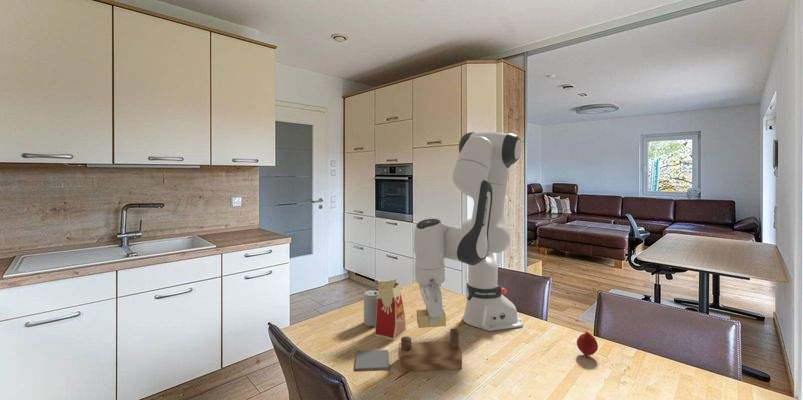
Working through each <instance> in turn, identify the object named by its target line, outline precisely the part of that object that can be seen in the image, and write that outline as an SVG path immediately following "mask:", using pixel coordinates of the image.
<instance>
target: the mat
mask: <svg viewBox="0 0 803 400" xmlns="http://www.w3.org/2000/svg"><path fill="white" fill-rule="evenodd" d="M355 354H356V355H355V364H354V371H371V370H372V371H373V370H375V371H377V370H390V369H391V366H390V358H389V349H375V350H374V349H372V350H370V349H369V350H356V353H355Z"/></svg>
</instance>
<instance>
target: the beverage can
mask: <svg viewBox="0 0 803 400" xmlns="http://www.w3.org/2000/svg"><path fill="white" fill-rule="evenodd" d="M377 298H378V290H367V291H365V292H364V295H363V323H364V325H365V326H367V327H371V328H373V327H376V310H377Z"/></svg>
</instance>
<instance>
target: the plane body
mask: <svg viewBox="0 0 803 400" xmlns="http://www.w3.org/2000/svg"><path fill="white" fill-rule="evenodd" d="M449 330H450V333H449V336H450V337H449V340H448V341H420V342H419V341H417V342H412V337H410V336H409V335H408V336H402V337H401V339H400V342H398V365H399V371H400V372H420V371H442V370H443V371H446V370H448V371H449V370H462V367H463V351H462V350H461V347H460V345H459V343H460V341H459V340H460V339H459V338H460V337H459V336H460V335H459V334H460V331H459V330H458V328H450V329H449Z"/></svg>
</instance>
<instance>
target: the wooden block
mask: <svg viewBox="0 0 803 400" xmlns="http://www.w3.org/2000/svg"><path fill="white" fill-rule="evenodd" d="M446 316H447V315H446V312H445V311H444V309H443V315H442V317H441V318H436V325H432V326H431V325H430V322H429V318H430V317H429V314H428V311H427V310H426V309H417V310H416V323H417V327H418V329H423V328H440V327H446V326H447V320H446Z"/></svg>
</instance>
